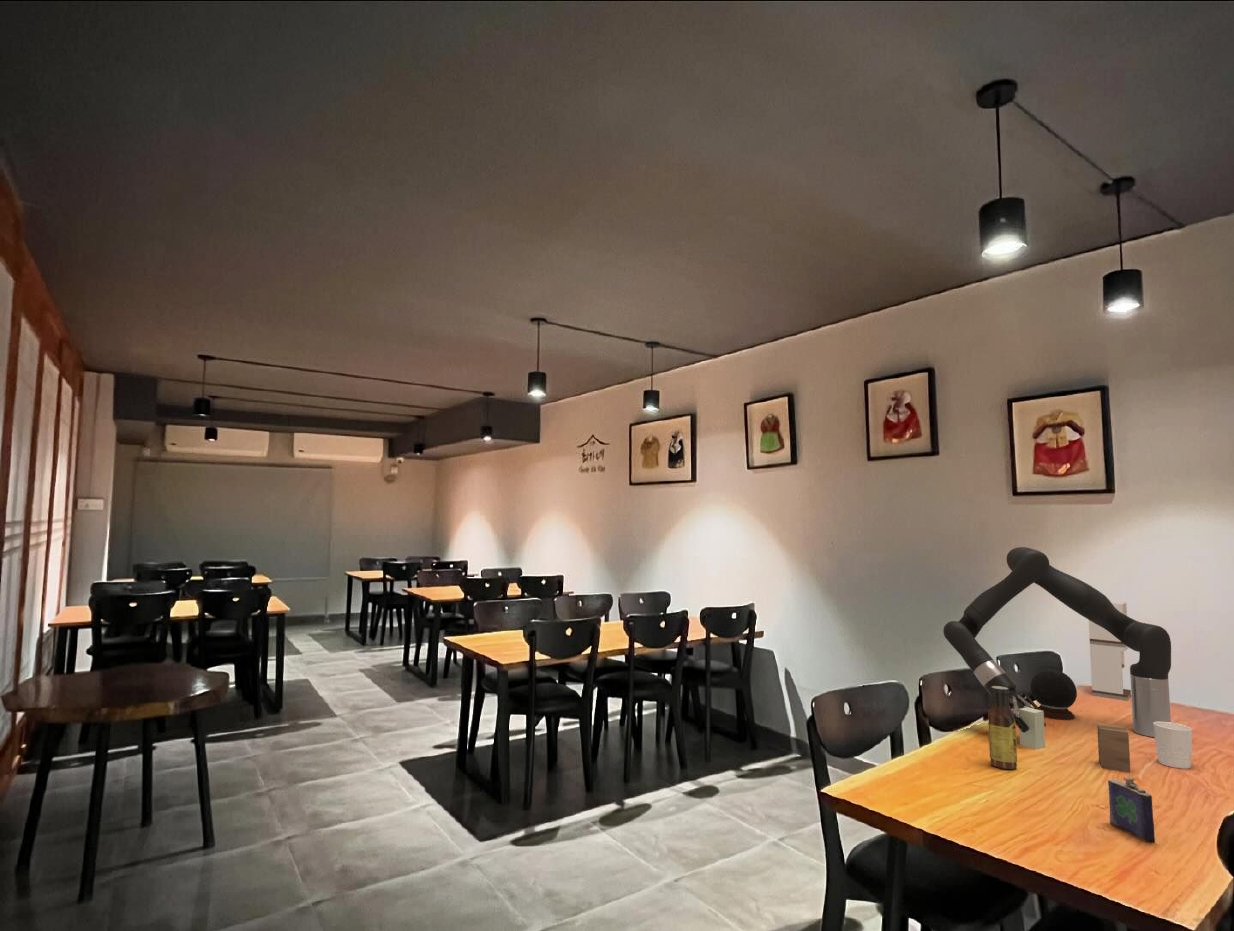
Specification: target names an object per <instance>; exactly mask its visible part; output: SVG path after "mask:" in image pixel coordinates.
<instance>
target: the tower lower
mask: <svg viewBox="0 0 1234 931" xmlns="http://www.w3.org/2000/svg"><path fill="white" fill-rule="evenodd" d="M1097 745H1098V746H1097V747H1098V748H1097V749H1098V751H1097V752H1098V762H1099V765H1100V767H1101V769H1103V770H1108V771H1109V770H1110V771H1116V772H1124V773H1128V774H1131V773H1132V772H1131V757H1130V755H1131V754H1130V752H1129V753H1128V752H1121V751H1115V750H1108V749H1102V748H1100V746H1099V743H1098V742H1097Z"/></svg>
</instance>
